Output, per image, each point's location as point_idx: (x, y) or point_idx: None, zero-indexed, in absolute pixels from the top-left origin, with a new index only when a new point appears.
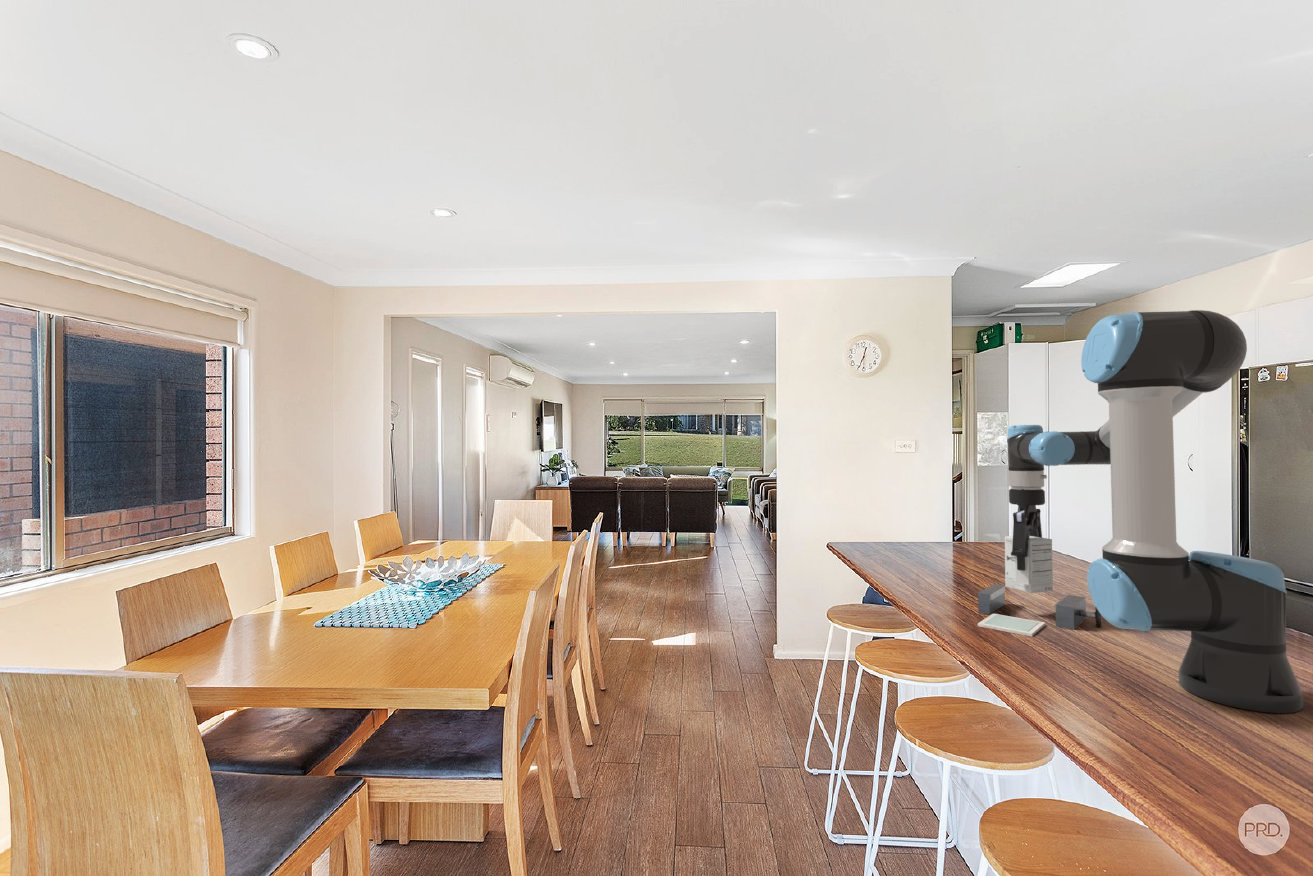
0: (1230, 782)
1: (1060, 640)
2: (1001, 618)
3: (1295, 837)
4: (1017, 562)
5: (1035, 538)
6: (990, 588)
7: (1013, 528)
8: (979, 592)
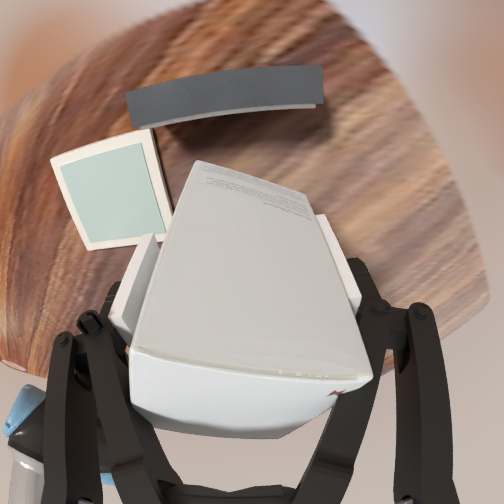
0: (24, 364)
1: (115, 279)
2: (119, 168)
3: (18, 369)
4: (102, 307)
5: (218, 431)
6: (227, 84)
7: (43, 450)
8: (130, 94)
